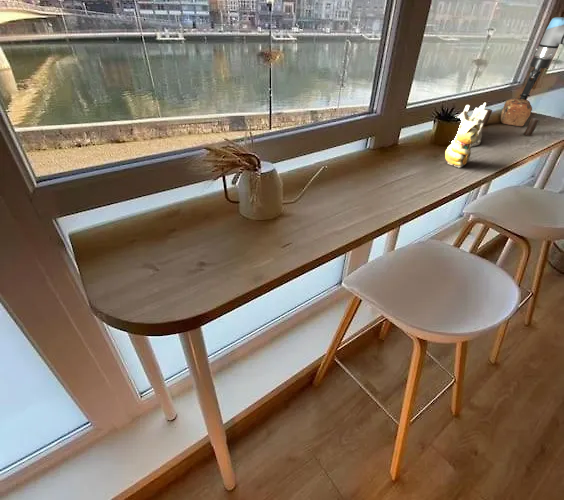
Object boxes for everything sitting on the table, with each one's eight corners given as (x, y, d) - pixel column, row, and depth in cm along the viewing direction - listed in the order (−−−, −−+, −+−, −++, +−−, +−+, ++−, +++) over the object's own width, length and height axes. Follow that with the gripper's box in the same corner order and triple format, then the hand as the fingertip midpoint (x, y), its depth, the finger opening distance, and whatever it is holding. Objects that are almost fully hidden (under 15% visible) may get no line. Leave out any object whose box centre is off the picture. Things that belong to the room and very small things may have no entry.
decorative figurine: (462, 171, 113) (480, 127, 103) (438, 164, 116) (453, 121, 107) (469, 162, 119) (486, 120, 109) (445, 156, 122) (460, 115, 113)
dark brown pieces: (531, 134, 146) (540, 118, 142) (530, 136, 144) (539, 120, 140) (479, 123, 157) (486, 108, 152) (478, 125, 155) (484, 109, 151)
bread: (523, 127, 154) (534, 105, 148) (498, 123, 158) (508, 101, 152) (522, 118, 167) (532, 97, 161) (499, 114, 171) (508, 94, 165)
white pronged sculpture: (450, 129, 147) (463, 94, 137) (486, 141, 138) (503, 105, 128) (432, 139, 139) (444, 102, 129) (469, 152, 130) (485, 114, 120)
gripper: (536, 54, 158) (512, 105, 174) (531, 58, 151) (507, 110, 166) (554, 57, 155) (528, 108, 170) (550, 60, 147) (523, 114, 162)
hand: (517, 109), depth 168 cm, fingers closed
